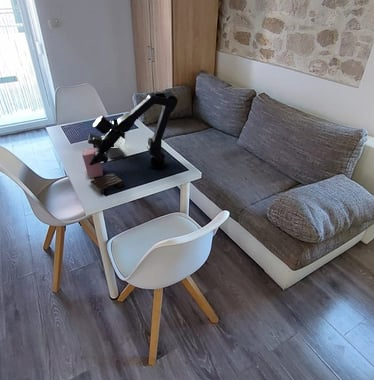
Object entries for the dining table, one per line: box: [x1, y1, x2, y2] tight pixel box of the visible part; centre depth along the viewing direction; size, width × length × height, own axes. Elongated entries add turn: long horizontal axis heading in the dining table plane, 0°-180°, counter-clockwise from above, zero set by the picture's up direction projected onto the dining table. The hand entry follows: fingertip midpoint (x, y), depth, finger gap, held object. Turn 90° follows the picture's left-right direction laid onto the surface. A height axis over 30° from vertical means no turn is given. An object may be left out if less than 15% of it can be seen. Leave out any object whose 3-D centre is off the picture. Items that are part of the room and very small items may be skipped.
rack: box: [89, 172, 123, 196], centre depth 147 cm, size 12×10×3 cm
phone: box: [105, 147, 125, 160], centre depth 176 cm, size 8×1×15 cm
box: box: [82, 147, 104, 179], centre depth 153 cm, size 7×6×13 cm
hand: (89, 161), depth 152 cm, fingers closed on box, 6 cm apart
